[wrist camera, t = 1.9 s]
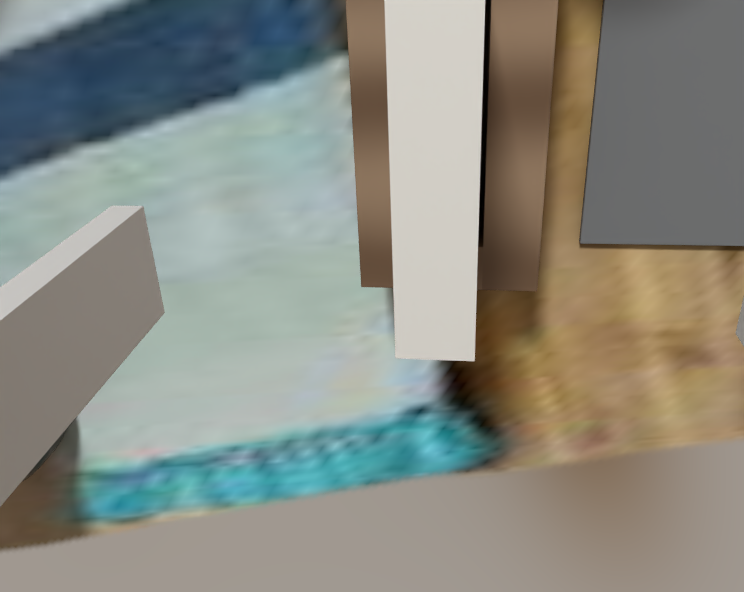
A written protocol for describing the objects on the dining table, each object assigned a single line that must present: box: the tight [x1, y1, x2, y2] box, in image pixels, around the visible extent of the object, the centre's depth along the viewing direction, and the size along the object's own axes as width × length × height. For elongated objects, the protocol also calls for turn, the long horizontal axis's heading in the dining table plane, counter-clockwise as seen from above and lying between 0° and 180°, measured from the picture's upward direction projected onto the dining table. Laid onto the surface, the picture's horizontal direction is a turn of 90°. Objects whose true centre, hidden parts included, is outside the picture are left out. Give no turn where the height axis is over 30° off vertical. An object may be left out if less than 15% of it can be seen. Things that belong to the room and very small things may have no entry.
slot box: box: [346, 0, 558, 291], centre depth 31 cm, size 16×8×6 cm, turn 2°
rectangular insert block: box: [384, 0, 485, 361], centre depth 26 cm, size 11×2×15 cm, turn 2°
